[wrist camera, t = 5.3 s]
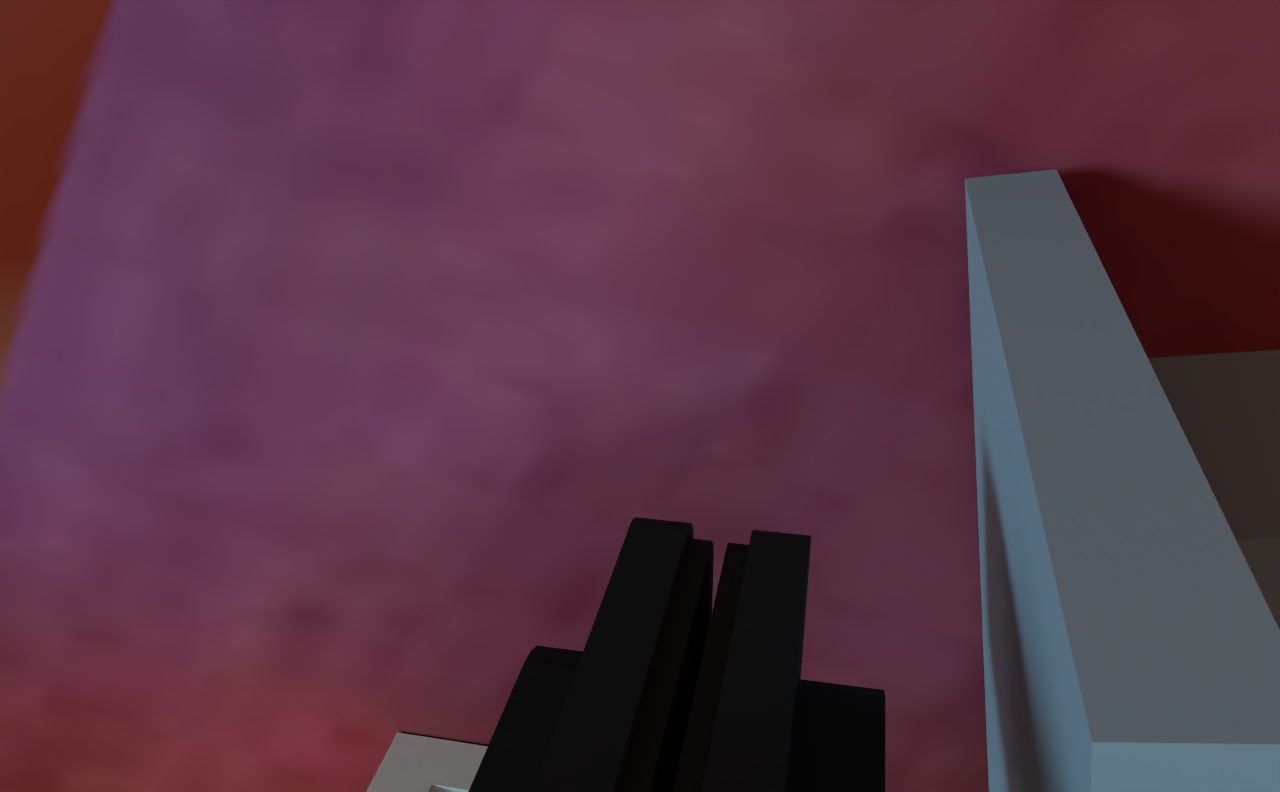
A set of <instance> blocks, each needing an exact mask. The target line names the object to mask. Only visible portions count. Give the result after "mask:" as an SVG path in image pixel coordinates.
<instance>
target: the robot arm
mask: <svg viewBox="0 0 1280 792" xmlns="http://www.w3.org/2000/svg"><path fill="white" fill-rule="evenodd" d="M810 545H811V536H808V535H798V534H788V533H779V532H769V531H760V530H753V531H752V534H751V538H750V543H749V545H744V544H735V543H728V545H727V549H726V553H725V558H724V562H723V567H722V571H721V576H720V580H719V585H718V589H717V594H716V598H715V602H714V607H713V611H712V591H713V557H714V547H713V542H712V541H708V540H699V539H694V533H693V526H692V524H691V523H685V522H675V521H665V520H656V519H646V518H637V517H636V518H634V519H633V520H632V522H631V524H630V527H629V529H628V532H627V535H626V538H625V540H624V543H623V546H622V548H621V551H620V554H619V557H618V559H617V562H616V565H615V567H614V570H613V573H612V576H611V578H610V581H609V584H608V586H607V589H606V592H605V594H604V597H603V600H602V603H601V605H600V608H599V611H598V613H597V616H596V619H595V622H594V624H593V627H592V630H591V632H590V635H589V638H588V640H587V643H586V646H585V649H584V651H583V652H581V651H574V650H566V649H558V648H550V647H542V646H536V647H535V648H534V649H532V650H531V652H530V653H529V655H528V657H527V659H526V661H525V663H524V665H523V667H522V669H521V672H520V674H519V676H518V679H517V681H516V683H515V686H514V688H513V690H512V692H511V695H510V697H509V699H508V702H507V704H506V706H505V709H504V711H503V713H502V715H501V718H500V720H499V722H498V725H497V727H496V729H495V732H494V734H493V736H492V738H491V741H490V743H489V745H488V748H487V750H486V752H485V755H484V757H483V759H482V761H481V764H480V766H479V768H478V771H477V773H476V775H475V778H474V780H473V782H472V784H471V787H470V789H469V791H468V792H885V693H884V690H879V689H871V688H863V687H855V686H847V685H840V684H832V683H824V682H816V681H808V680H800V676H801V663H802V650H803V637H804V624H805V611H806V598H807V585H808V572H809V559H810Z"/></svg>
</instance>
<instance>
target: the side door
mask: <svg viewBox="0 0 1280 792" xmlns="http://www.w3.org/2000/svg"><path fill="white" fill-rule="evenodd" d="M965 194H966V220H967V245H968V271H969V296H970V322H971V347H972V372H973V398H974V423H975V449H976V474H977V500H978V525H979V550H980V576H981V601H982V627H983V652H984V678H985V703H986V728H987V754H988V779H989V792H1280V350H1266V351H1250V352H1235V353H1219V354H1203V355H1188V356H1172V357H1157V358H1148V357H1147V355H1146V353H1145V351H1144V349H1143V347H1142V345H1141V343H1140V341H1139V339H1138V337H1137V335H1136V333H1135V331H1134V329H1133V327H1132V324H1131V322H1130V320H1129V318H1128V316H1127V314H1126V312H1125V310H1124V308H1123V306H1122V304H1121V302H1120V300H1119V298H1118V296H1117V294H1116V291H1115V289H1114V287H1113V285H1112V283H1111V281H1110V279H1109V277H1108V275H1107V273H1106V271H1105V269H1104V267H1103V265H1102V263H1101V261H1100V258H1099V256H1098V254H1097V252H1096V250H1095V248H1094V246H1093V244H1092V242H1091V240H1090V238H1089V236H1088V234H1087V232H1086V230H1085V228H1084V225H1083V223H1082V221H1081V219H1080V217H1079V215H1078V213H1077V211H1076V209H1075V207H1074V205H1073V203H1072V201H1071V199H1070V197H1069V195H1068V193H1067V190H1066V188H1065V186H1064V184H1063V182H1062V180H1061V178H1060V176H1059V174H1058V172H1057V170H1056V169H1054V170H1044V171H1034V172H1025V173H1015V174H1005V175H996V176H986V177H977V178H967V179H965Z"/></svg>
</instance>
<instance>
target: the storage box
mask: <svg viewBox="0 0 1280 792" xmlns="http://www.w3.org/2000/svg"><path fill="white" fill-rule="evenodd" d="M487 748H488V746H481V745H475V744H469V743H462V742H456V741H449V740H443V739H437V738H430V737H424V736H417V735H411V734H405V733H398V732H397V734H396V736H395V738H394V740H393V742H392V744H391V746H390V747H389V749H388V751H387V753H386V755H385V757H384V759H383V761H382V763H381V765H380V767H379V768H378V770H377V772H376V774H375V776H374V778H373V780H372V782H371V784H370V786H369V788H368V789H367V791H366V792H468V791H469V789H470V787H471V784H472V782H473V780H474V778H475V775H476V773H477V771H478V768H479V766H480V764H481V761H482V759H483V757H484V755H485V752H486V750H487Z"/></svg>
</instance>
